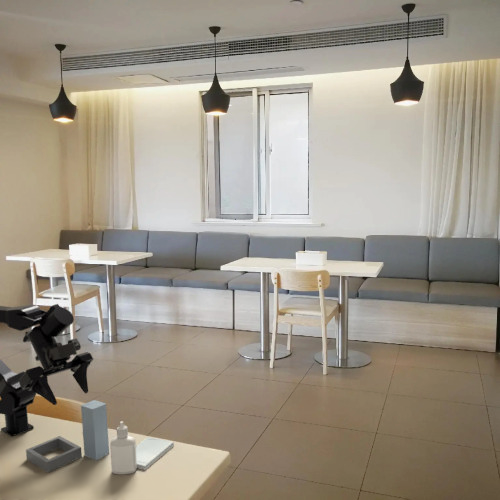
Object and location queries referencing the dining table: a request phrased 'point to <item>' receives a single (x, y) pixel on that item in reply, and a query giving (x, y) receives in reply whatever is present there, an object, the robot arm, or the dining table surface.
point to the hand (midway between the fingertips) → (71, 398)
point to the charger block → (95, 429)
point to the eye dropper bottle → (123, 452)
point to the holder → (48, 465)
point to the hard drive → (151, 451)
